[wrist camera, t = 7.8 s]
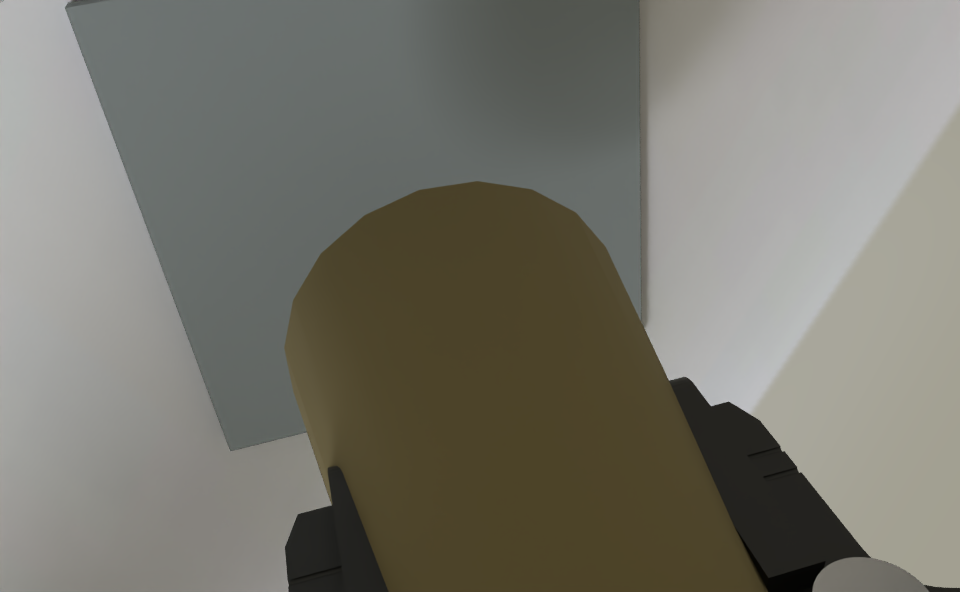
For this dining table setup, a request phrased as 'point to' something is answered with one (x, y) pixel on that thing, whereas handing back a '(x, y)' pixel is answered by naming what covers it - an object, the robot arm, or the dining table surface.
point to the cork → (502, 406)
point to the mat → (347, 143)
